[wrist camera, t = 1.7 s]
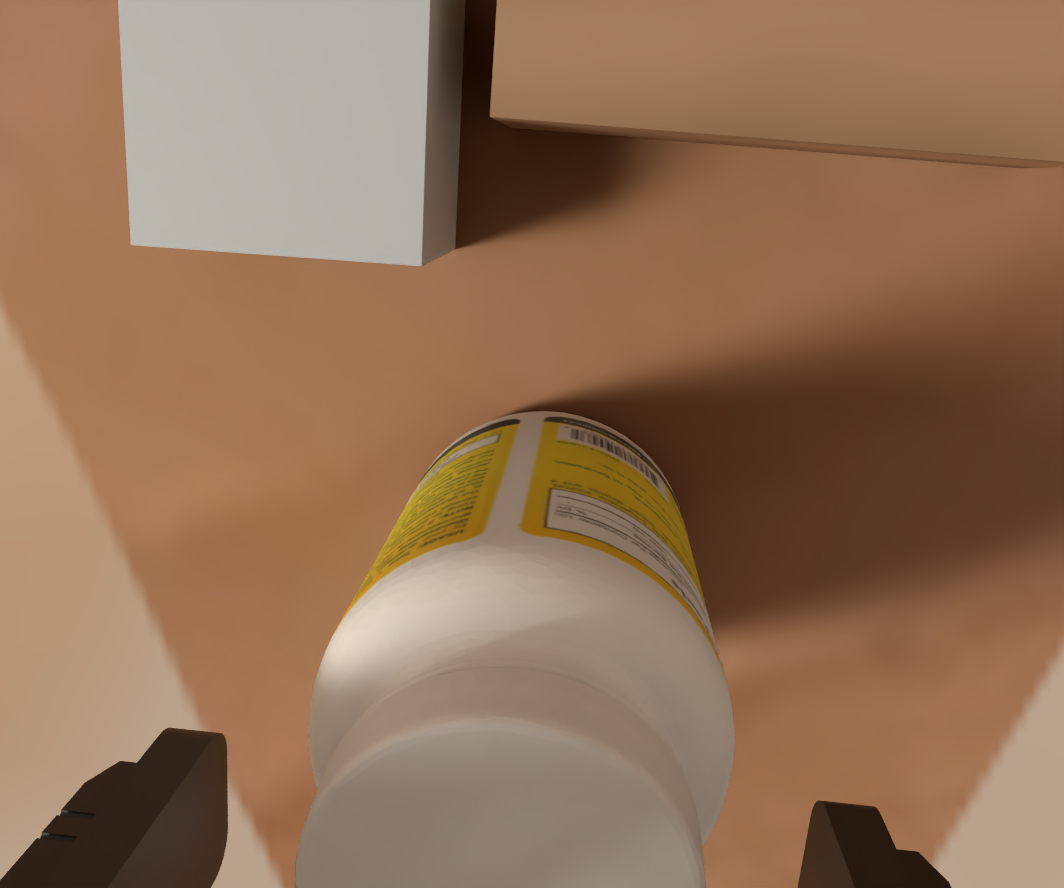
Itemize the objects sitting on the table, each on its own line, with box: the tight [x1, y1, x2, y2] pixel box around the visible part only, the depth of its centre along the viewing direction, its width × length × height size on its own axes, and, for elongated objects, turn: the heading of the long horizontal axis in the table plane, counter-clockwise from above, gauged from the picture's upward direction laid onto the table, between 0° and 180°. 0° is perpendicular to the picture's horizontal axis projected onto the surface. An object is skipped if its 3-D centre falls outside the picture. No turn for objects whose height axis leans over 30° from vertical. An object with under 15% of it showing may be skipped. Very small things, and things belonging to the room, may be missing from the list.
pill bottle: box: [295, 411, 734, 888], centre depth 16 cm, size 6×6×11 cm
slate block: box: [118, 0, 466, 266], centre depth 17 cm, size 5×5×4 cm
